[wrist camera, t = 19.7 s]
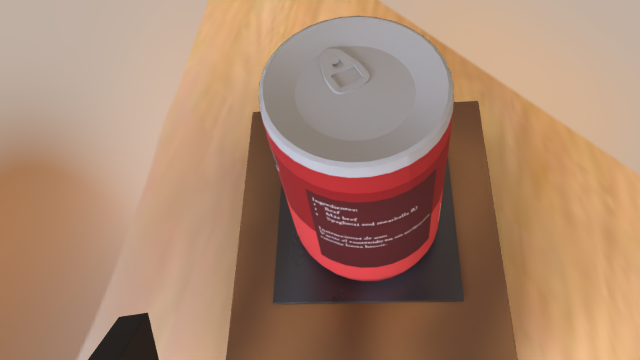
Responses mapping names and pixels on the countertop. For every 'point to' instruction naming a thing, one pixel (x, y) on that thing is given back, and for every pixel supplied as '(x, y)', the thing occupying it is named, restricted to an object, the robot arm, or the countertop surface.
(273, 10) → the countertop surface
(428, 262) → the wooden picture frame
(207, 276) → the countertop surface
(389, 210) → the canned food
